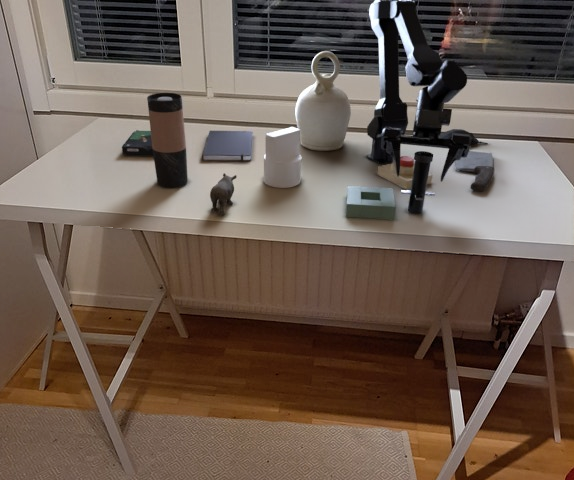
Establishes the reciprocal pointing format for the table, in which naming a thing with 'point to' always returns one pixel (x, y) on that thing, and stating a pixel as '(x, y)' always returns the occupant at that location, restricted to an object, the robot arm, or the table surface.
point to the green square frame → (370, 202)
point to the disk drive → (138, 144)
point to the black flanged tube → (419, 182)
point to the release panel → (404, 175)
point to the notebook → (228, 146)
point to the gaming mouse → (459, 131)
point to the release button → (406, 161)
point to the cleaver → (478, 168)
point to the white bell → (323, 110)
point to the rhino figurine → (222, 193)
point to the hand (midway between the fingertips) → (419, 178)
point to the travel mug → (168, 139)
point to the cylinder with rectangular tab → (283, 158)
